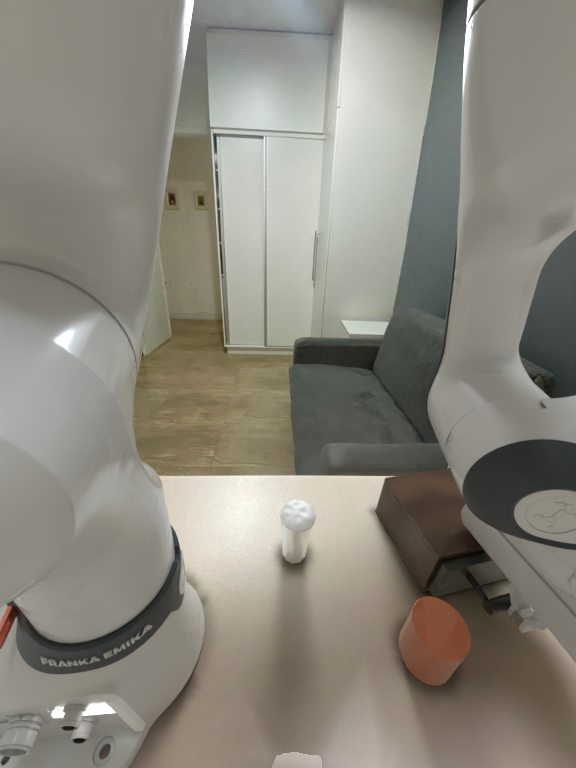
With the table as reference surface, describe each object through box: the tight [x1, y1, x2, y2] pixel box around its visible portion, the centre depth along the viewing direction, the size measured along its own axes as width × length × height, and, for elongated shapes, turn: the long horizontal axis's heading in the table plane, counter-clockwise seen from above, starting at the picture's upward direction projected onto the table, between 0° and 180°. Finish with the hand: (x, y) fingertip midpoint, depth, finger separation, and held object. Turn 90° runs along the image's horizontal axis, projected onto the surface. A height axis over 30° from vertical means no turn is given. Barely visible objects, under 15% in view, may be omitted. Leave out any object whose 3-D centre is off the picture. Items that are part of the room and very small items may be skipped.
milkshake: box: [279, 498, 317, 565], centre depth 41 cm, size 4×5×10 cm
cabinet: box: [375, 467, 484, 593], centre depth 45 cm, size 13×14×8 cm
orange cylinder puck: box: [397, 595, 472, 687], centre depth 33 cm, size 6×6×6 cm
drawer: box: [428, 550, 512, 616], centre depth 41 cm, size 16×12×6 cm
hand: (518, 620), depth 34 cm, fingers closed
